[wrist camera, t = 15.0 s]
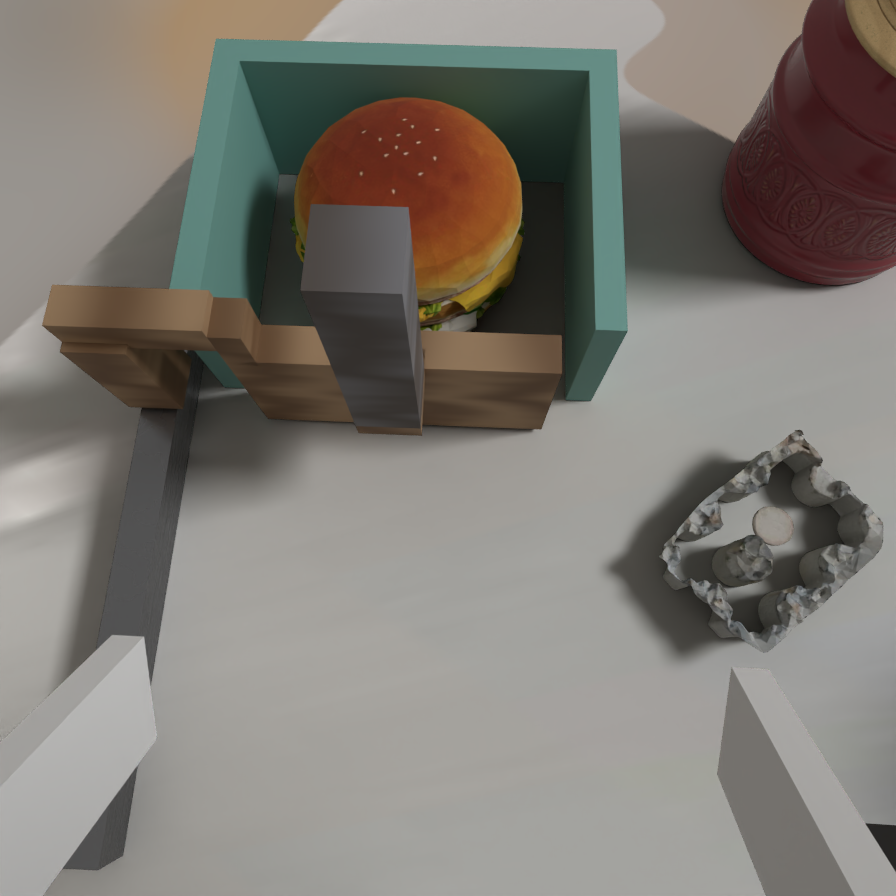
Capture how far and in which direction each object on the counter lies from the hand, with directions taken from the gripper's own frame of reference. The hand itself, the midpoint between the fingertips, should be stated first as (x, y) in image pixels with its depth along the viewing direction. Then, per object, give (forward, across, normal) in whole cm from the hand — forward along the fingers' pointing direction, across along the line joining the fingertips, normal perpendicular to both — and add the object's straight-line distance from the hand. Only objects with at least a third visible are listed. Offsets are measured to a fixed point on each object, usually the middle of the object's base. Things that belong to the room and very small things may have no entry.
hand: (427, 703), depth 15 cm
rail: (+20, -18, -7) cm, 28 cm away
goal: (+32, -4, +9) cm, 33 cm away
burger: (+32, -4, +9) cm, 33 cm away
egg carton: (+24, +16, -6) cm, 29 cm away
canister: (+36, +22, +13) cm, 44 cm away
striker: (+25, -8, 0) cm, 26 cm away
